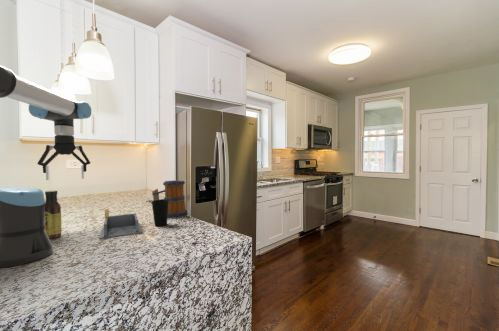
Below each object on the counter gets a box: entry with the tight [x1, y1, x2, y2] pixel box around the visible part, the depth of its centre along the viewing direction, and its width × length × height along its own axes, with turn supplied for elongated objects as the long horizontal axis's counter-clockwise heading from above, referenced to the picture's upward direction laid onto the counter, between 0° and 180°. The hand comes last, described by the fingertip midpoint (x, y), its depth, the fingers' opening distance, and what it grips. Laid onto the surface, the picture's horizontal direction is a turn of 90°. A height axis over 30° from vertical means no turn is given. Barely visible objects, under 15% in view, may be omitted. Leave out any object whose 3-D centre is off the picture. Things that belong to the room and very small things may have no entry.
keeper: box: [99, 208, 143, 240], centre depth 109 cm, size 18×16×9 cm
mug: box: [151, 179, 189, 219], centre depth 137 cm, size 19×14×20 cm
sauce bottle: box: [44, 189, 63, 239], centre depth 102 cm, size 7×6×20 cm
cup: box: [151, 199, 168, 228], centre depth 117 cm, size 8×8×12 cm
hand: (65, 179), depth 116 cm, fingers open, 13 cm apart
